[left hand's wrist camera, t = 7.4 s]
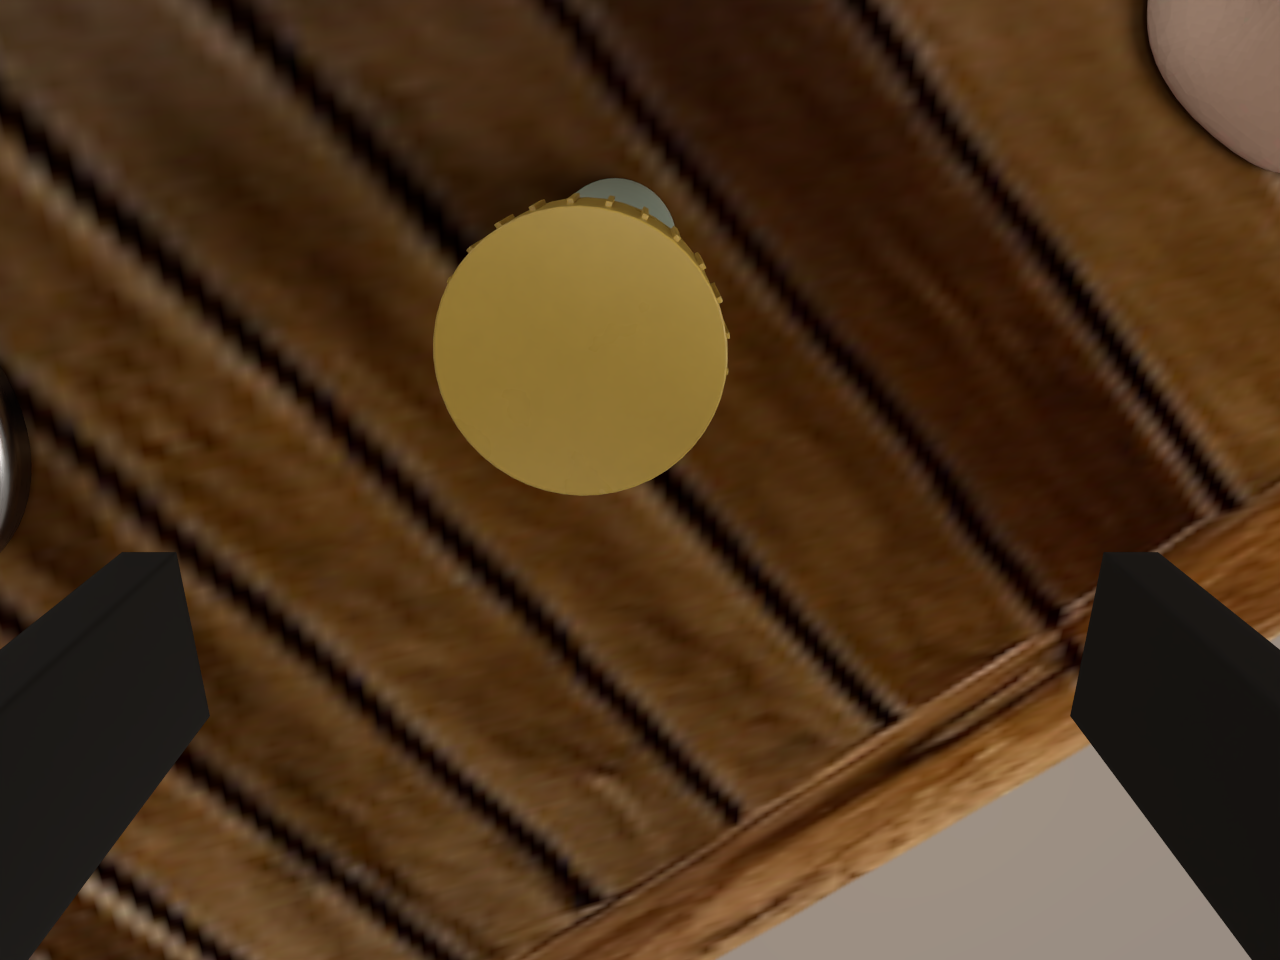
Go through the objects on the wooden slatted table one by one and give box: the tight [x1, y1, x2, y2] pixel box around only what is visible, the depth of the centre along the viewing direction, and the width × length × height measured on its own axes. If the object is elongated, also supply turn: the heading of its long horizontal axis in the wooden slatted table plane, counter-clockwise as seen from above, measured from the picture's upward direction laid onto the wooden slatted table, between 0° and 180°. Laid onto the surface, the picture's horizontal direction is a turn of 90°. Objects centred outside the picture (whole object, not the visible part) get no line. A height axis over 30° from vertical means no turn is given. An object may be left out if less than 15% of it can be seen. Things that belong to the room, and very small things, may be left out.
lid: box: [433, 193, 730, 496], centre depth 17 cm, size 5×5×2 cm
